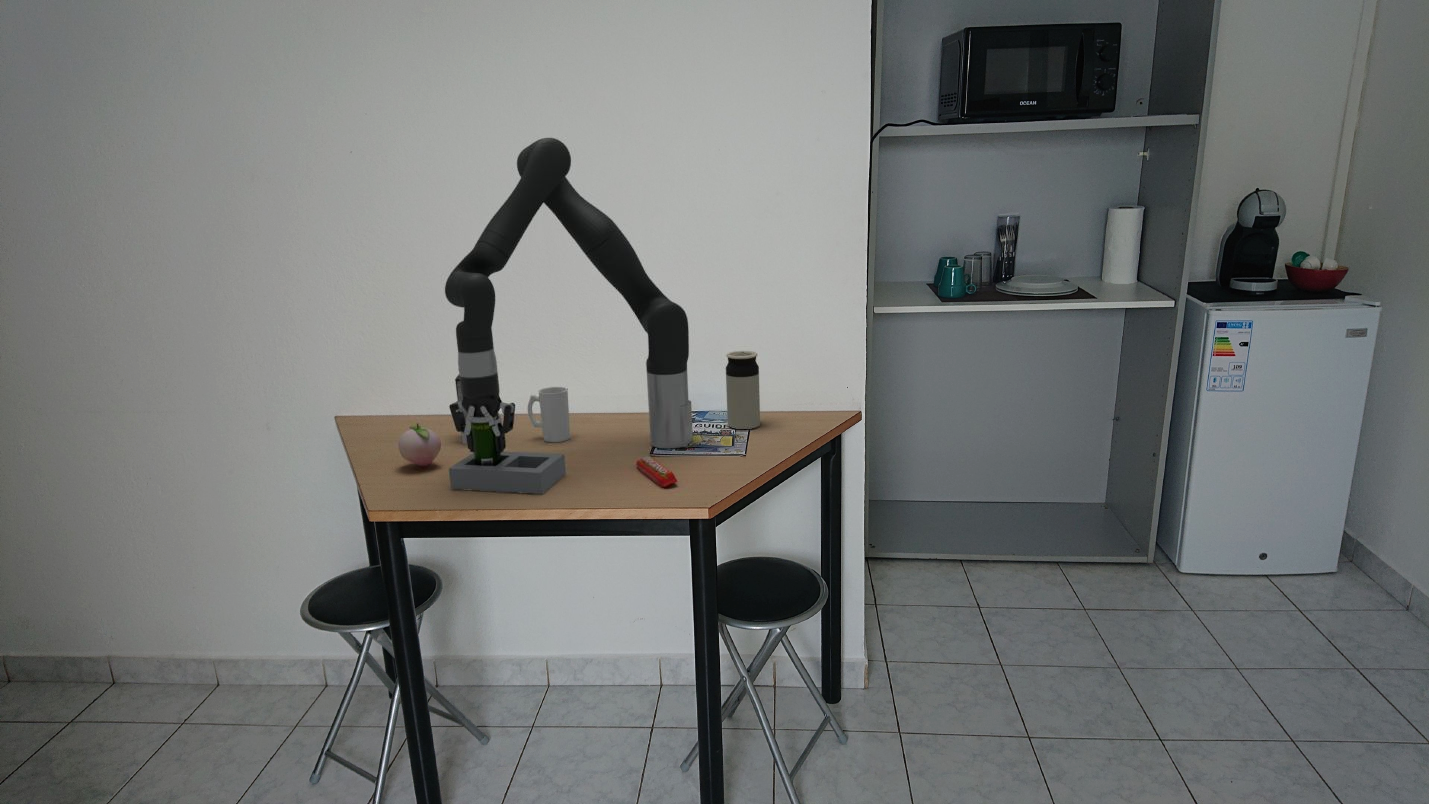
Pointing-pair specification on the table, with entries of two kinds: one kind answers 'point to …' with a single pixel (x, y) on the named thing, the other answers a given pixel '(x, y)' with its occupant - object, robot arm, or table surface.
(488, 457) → the beer can
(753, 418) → the travel mug
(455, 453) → the table surface
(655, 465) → the candy bar
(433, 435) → the decorative fruit
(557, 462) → the drink caddy
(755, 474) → the table surface
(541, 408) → the mug
